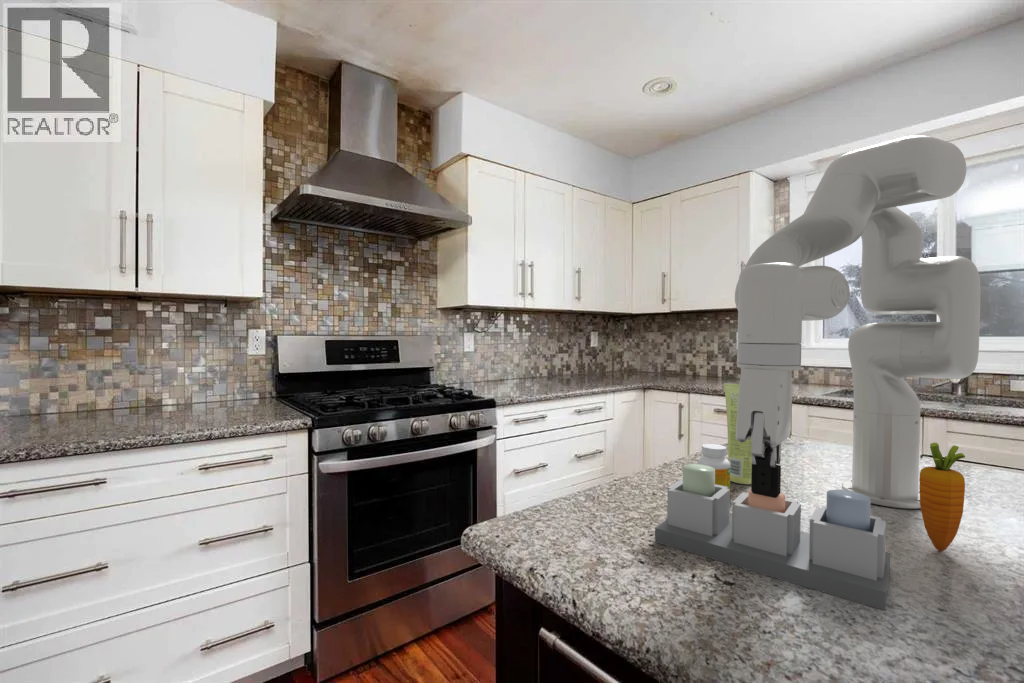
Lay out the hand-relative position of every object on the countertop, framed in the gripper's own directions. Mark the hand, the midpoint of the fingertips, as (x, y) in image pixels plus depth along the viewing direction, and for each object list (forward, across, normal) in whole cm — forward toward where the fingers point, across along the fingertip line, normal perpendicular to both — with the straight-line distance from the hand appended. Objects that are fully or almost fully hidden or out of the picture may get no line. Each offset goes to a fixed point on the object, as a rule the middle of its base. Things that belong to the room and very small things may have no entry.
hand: (765, 493), depth 65 cm
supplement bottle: (+8, -17, -12) cm, 22 cm away
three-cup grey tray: (+8, 0, 0) cm, 8 cm away
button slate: (+3, 0, +9) cm, 10 cm away
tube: (+8, -32, -11) cm, 35 cm away
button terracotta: (+5, 0, 0) cm, 5 cm away
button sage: (+3, 0, -9) cm, 10 cm away
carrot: (+8, -17, +18) cm, 26 cm away
